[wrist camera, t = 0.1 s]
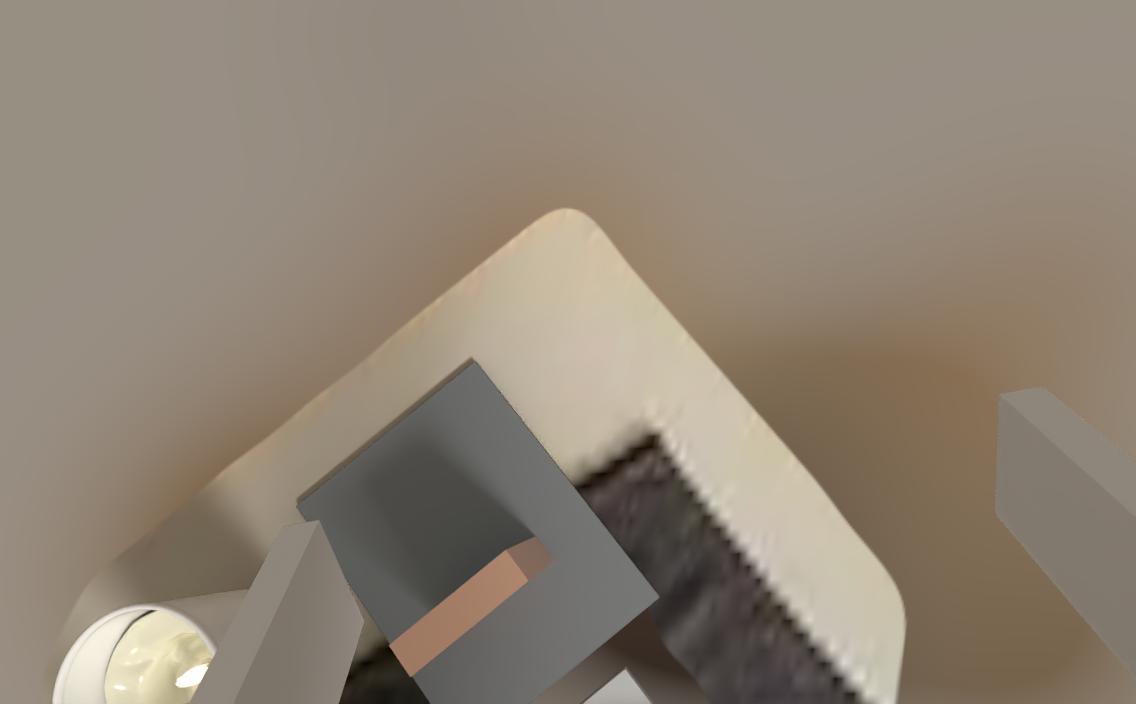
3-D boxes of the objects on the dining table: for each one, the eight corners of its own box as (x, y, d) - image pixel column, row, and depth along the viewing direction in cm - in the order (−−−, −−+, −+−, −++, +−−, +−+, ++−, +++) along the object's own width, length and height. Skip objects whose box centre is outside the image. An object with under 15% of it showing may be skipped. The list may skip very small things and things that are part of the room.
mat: (659, 596, 48) (659, 597, 48) (468, 753, 48) (466, 756, 48) (476, 362, 52) (475, 361, 52) (299, 506, 52) (296, 506, 52)
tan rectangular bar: (554, 560, 49) (528, 580, 39) (459, 638, 49) (410, 677, 39) (535, 535, 49) (505, 549, 40) (441, 612, 49) (388, 644, 40)
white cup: (348, 684, 50) (252, 746, 38) (221, 754, 50) (87, 837, 38) (289, 550, 52) (182, 570, 40) (168, 618, 52) (25, 658, 40)
